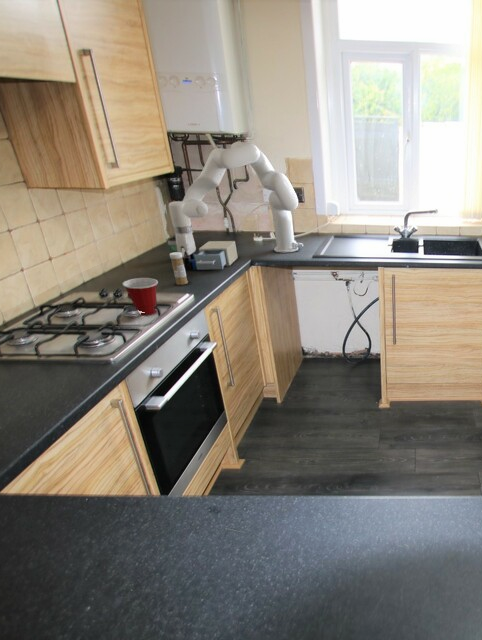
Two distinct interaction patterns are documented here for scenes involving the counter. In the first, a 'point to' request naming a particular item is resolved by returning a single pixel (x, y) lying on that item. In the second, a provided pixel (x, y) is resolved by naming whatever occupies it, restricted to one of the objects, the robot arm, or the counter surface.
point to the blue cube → (193, 264)
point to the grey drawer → (211, 259)
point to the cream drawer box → (223, 245)
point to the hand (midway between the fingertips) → (191, 267)
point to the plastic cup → (142, 294)
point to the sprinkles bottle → (178, 268)
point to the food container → (173, 246)
